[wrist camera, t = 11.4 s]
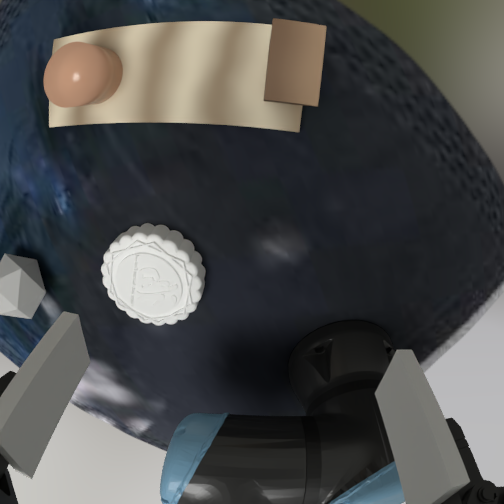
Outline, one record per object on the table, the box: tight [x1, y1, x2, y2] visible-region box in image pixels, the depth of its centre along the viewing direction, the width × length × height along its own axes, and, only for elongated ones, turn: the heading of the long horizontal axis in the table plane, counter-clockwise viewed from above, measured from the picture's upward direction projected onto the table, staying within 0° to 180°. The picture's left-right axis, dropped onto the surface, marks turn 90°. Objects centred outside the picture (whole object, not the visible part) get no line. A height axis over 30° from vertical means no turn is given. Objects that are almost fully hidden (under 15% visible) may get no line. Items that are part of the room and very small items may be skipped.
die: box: [0, 254, 46, 319], centre depth 34 cm, size 8×9×10 cm
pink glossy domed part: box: [44, 42, 123, 108], centre depth 22 cm, size 6×6×5 cm
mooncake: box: [101, 223, 206, 325], centre depth 35 cm, size 12×12×4 cm
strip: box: [49, 18, 326, 132], centre depth 20 cm, size 26×10×12 cm, turn 85°
